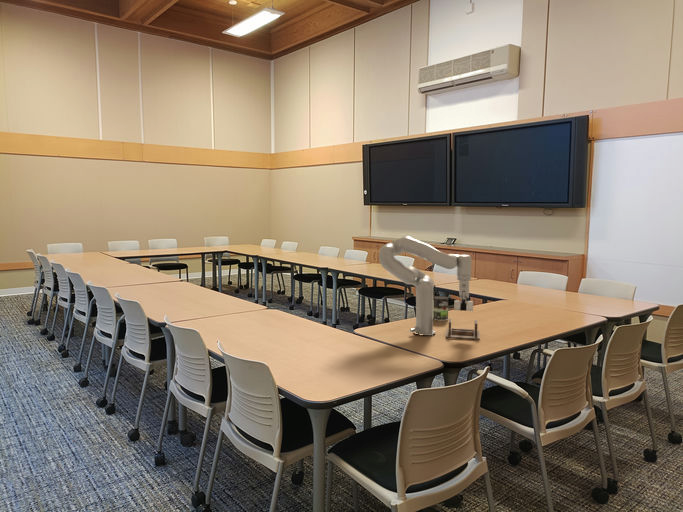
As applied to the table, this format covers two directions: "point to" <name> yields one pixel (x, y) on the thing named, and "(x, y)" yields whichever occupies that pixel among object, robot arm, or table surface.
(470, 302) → the paper towel roll
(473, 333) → the roll holder
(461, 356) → the table surface
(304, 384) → the table surface
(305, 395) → the table surface
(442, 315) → the coffee can
